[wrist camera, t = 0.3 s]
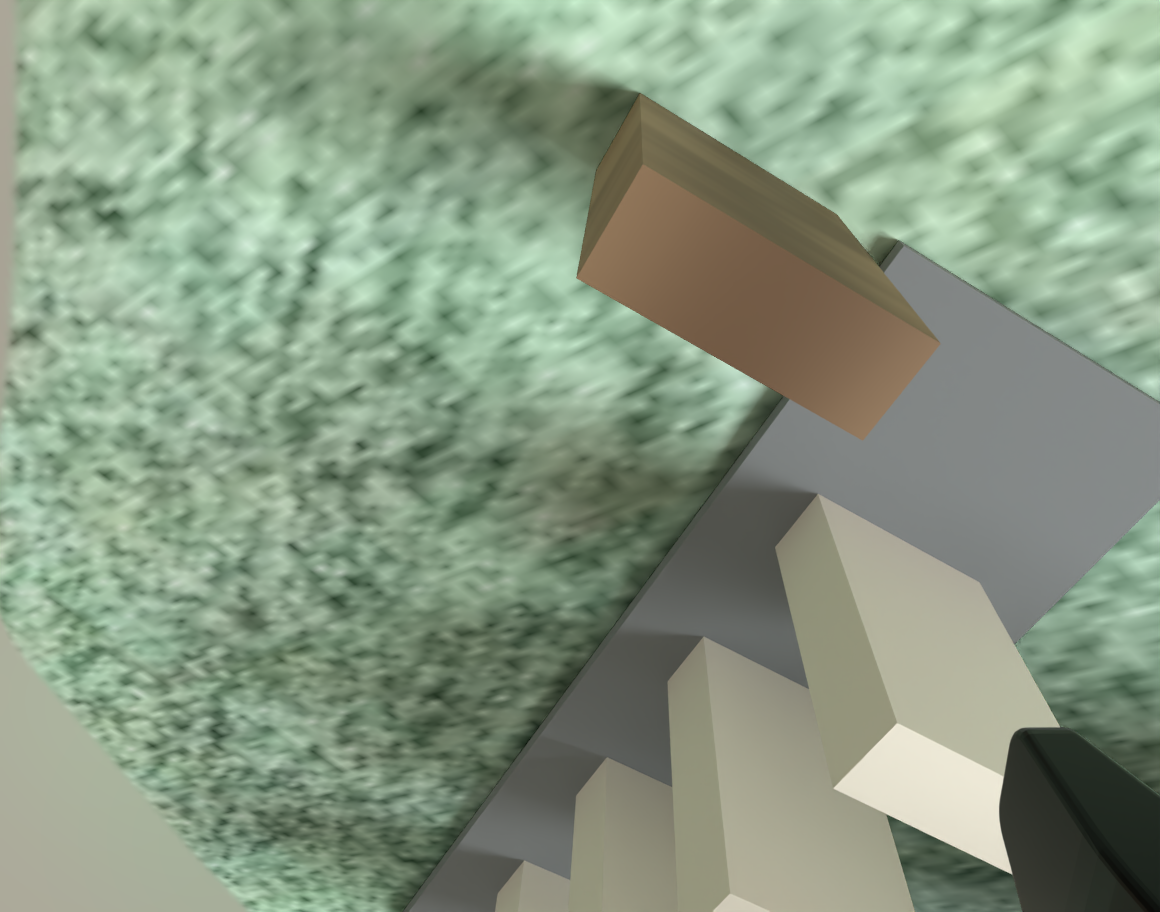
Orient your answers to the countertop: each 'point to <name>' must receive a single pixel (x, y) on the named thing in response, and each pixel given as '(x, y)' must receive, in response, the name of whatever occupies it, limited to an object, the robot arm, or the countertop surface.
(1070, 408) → the mat
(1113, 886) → the robot arm
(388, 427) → the countertop surface
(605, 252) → the walnut domino
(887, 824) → the tile
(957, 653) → the tile
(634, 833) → the tile
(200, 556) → the countertop surface
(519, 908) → the tile
